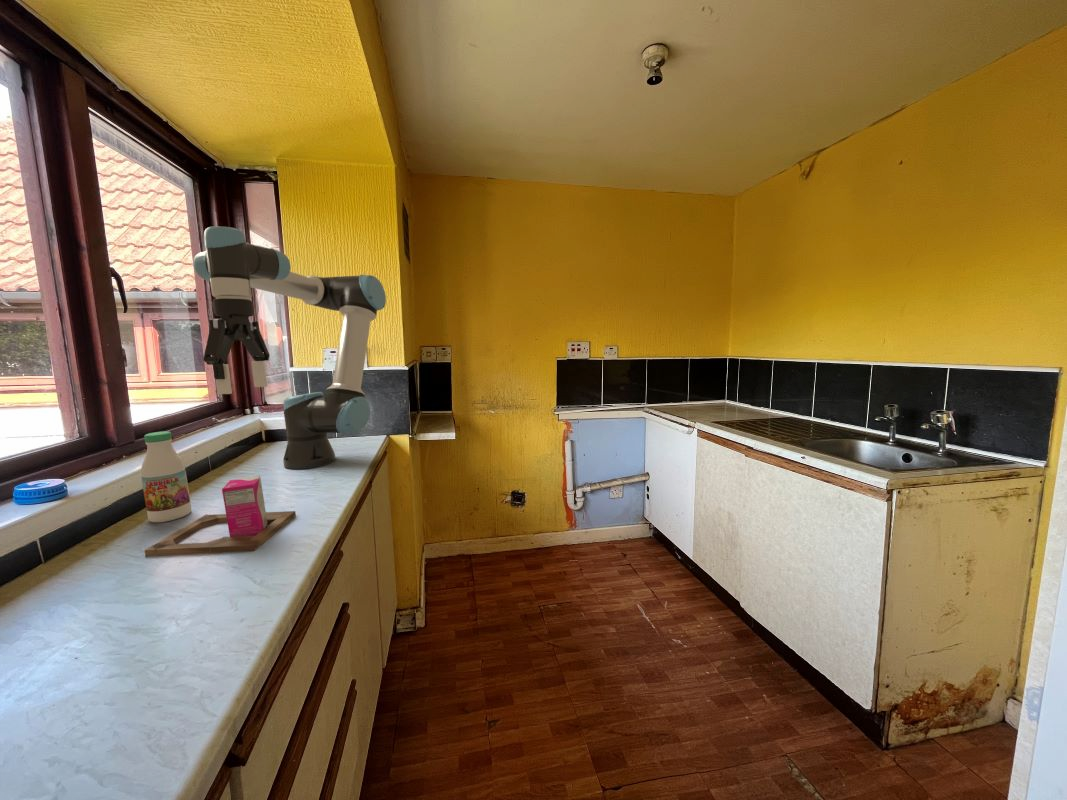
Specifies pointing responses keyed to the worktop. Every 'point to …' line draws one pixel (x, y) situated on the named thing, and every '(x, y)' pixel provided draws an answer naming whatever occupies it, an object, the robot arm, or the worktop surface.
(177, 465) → the milk bottle
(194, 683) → the worktop surface
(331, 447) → the robot arm
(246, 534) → the supplement box
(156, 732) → the worktop surface
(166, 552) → the keyhole plate
